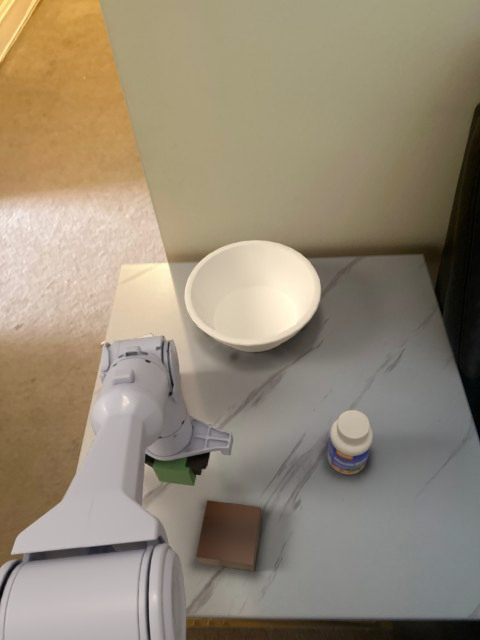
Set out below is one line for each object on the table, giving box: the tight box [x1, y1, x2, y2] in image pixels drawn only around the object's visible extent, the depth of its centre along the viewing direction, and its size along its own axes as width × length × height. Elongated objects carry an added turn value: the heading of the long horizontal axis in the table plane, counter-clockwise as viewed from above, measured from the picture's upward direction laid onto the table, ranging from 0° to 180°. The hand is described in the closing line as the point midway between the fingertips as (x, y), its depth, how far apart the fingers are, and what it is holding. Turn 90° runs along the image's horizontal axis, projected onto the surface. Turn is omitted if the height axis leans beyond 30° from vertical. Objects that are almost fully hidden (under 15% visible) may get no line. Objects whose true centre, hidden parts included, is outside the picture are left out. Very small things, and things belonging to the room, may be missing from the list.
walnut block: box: [195, 499, 263, 572], centre depth 71 cm, size 7×7×3 cm
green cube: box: [152, 457, 197, 487], centre depth 69 cm, size 4×4×4 cm
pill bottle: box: [326, 409, 374, 475], centre depth 74 cm, size 5×5×10 cm
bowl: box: [184, 239, 322, 353], centre depth 90 cm, size 21×21×8 cm
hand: (180, 465), depth 71 cm, fingers closed on green cube, 4 cm apart
